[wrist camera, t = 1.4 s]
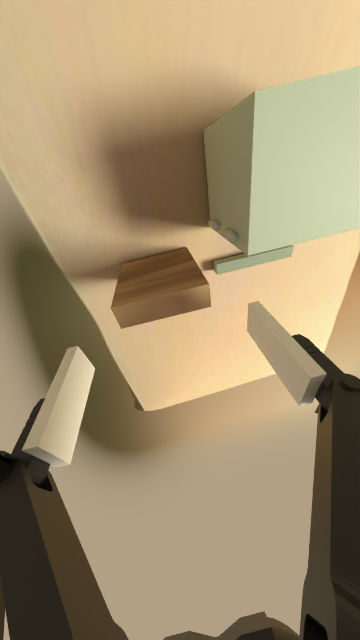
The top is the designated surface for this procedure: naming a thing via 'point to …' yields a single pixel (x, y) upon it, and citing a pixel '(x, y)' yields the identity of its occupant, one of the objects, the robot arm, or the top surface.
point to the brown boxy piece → (159, 288)
